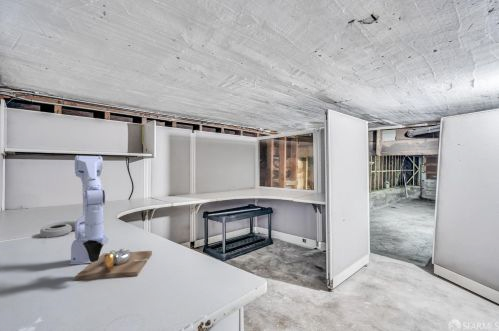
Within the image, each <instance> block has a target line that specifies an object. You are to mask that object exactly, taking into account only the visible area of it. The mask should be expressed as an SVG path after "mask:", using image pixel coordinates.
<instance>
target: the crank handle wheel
mask: <svg viewBox="0 0 499 331" xmlns="http://www.w3.org/2000/svg"><path fill="white" fill-rule="evenodd" d="M124 249H125V248H120V249H119V250H117V251H116V250H110V251H109V254H106V255H105V270H111V269H113V265H120V264H124V263H126V262H128V261H129V260H130V252H131V251H130V249H125V250H124Z"/></svg>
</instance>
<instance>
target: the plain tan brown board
mask: <svg viewBox="0 0 499 331" xmlns="http://www.w3.org/2000/svg"><path fill="white" fill-rule="evenodd" d="M129 252H130V260H129V261H128V262H126V263H124V264H120V265H113V269H111V270H105V255H106V254H109V253H110V252H109V253H108V252H107V253H102V254H100V255H101V256H99V259H98V261H95V262H92V263H88V265H87V266H86V267H84V268H83V269H82V270H81V271H80V272H77V274H76V275H75V276H74V281H87V280H99V279H100V280H102V279H117V278H124V277H125V278H127V277H128V278H129V277H138V276H139V274H140V273H141V272H142V269H143V268H144V267H145V265H146V263H147V262H148V261H149V260H150V258H151V256H152V254H153V251H152V250H142V251H140V250H139V251H129Z"/></svg>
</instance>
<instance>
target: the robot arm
mask: <svg viewBox="0 0 499 331" xmlns="http://www.w3.org/2000/svg"><path fill="white" fill-rule="evenodd" d="M103 162H104V161H103V156H101V155H97V156H96V155H76V156H74V174H75V176H76V177H77V178H79V179H80V181H81V184H82V216H80V217H79V218H77V219H76V220H75V221H76V222H75V231H74V238H75V240H73V241H72V243H71V246H70V263H69V265H83V264H91V263H92V262H95V261H98V259H99V256H101V255H102V254H101V252H102V249H103V247H104V245H106V244H109V237H107V236H106V234H105V225H104V216H105V214H104V205H105V204H106V191H105V189H104V188H103V185H102V181H101V178H100V177H101V174H102V170H103V164H104V163H103Z"/></svg>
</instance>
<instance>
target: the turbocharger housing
mask: <svg viewBox="0 0 499 331" xmlns="http://www.w3.org/2000/svg"><path fill="white" fill-rule="evenodd" d="M75 222H76V220H67V221H66V220H65V221H59V222H53V223H51V224H47V225H44V226H43V227H41V228H40V231H39V233H40V238H43V237H48V239H49V237H52V238H57V237H62V235H63V236H66V235H68V234H70V233H71V232H75Z"/></svg>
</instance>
